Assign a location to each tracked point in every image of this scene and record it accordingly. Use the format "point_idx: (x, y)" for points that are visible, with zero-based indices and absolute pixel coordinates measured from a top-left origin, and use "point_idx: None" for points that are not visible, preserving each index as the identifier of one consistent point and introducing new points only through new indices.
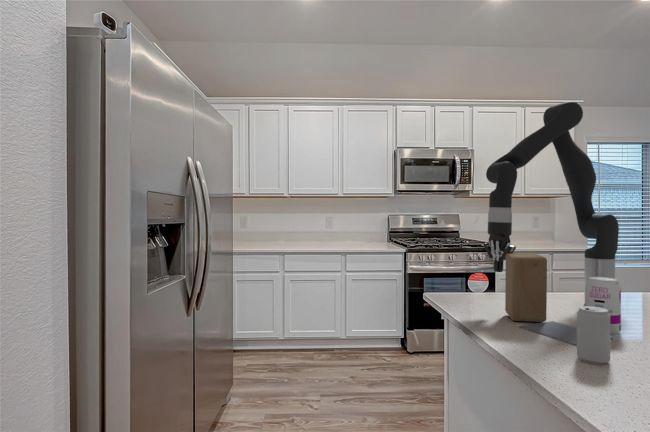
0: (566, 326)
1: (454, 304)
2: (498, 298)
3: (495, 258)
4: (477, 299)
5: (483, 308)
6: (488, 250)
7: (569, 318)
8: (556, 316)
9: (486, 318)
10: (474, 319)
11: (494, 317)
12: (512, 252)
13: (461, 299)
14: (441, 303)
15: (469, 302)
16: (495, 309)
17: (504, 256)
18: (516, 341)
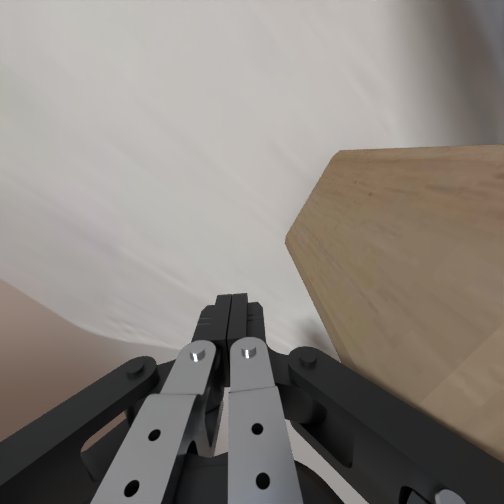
0: None
1: (121, 300)
2: (23, 63)
3: (221, 407)
4: (44, 177)
5: (190, 249)
6: (85, 500)
7: (411, 47)
8: (367, 75)
9: (297, 313)
10: (294, 343)
11: (296, 288)
12: (434, 429)
13: (43, 237)
14: (103, 327)
15: (96, 239)
16: (212, 221)
17: (351, 435)
18: None
